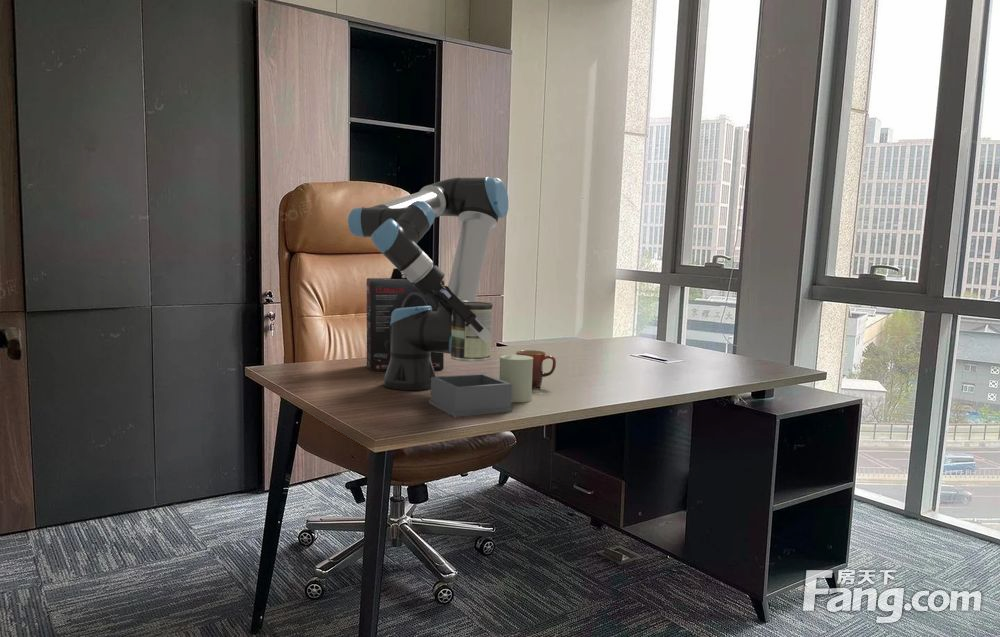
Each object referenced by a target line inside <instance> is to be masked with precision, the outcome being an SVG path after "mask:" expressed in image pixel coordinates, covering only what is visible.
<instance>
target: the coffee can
mask: <svg viewBox="0 0 1000 637" xmlns="http://www.w3.org/2000/svg"><path fill="white" fill-rule="evenodd" d="M463 303H464V304H465V305H466V306H467V307H468V308H469V309H470V310H471V311H472V312H473V313H474V314H475V315H476V318H477V319H478V320H479V321H480V322H481V323H482V324H483V325H484V327H485V328H486V329H487V330H488V331H489V332H490V333H491V334H492V316H493V314H492V313H493V305H494V304H493V303H491V302H484V301H483V302H482V301H475V302H463ZM469 316H470V315H469ZM469 316H468V317H469ZM465 324H466V322H465V321H464V320H463V319H462V318H461V317H460V316H459V315H458V314H457V313H456V312H455V311H454V310H452V332H451V354H450V359H452V360H454V361H459V362H473V363H474V362H486V361H489V360H492V358H491V348H492V347H491V345H492V344H491V342H492V338H491V339H490V340H489V341H488V342H487V343H486V344H485V343H484V342H483V341H482V340H481V339H480V338H479V337H478V336H477V334H476V333H475V332H474V331H473V330H472V329H471V328H470V327H469V326H467V327H466V326H465Z"/></svg>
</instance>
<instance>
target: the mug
mask: <svg viewBox="0 0 1000 637" xmlns="http://www.w3.org/2000/svg"><path fill="white" fill-rule="evenodd" d="M515 355H526V356H531V357H533V369H532V389H537V388H540V387H541V386H542V383H543V379H544V378H545V377H549V376H551V375H552V374H553V373H554V372H555V370H556V367H557V359H556V358H555V357H554V356H553V355H547V353H546V352H545V351H542V350H536V349H535V350H531V349H523V350H517V351H516V352H515ZM549 359H551V360H552V366H551V370H550V371H548V372H544V368H543V367H544V366H543V365H544V361H545V360H549Z"/></svg>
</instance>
